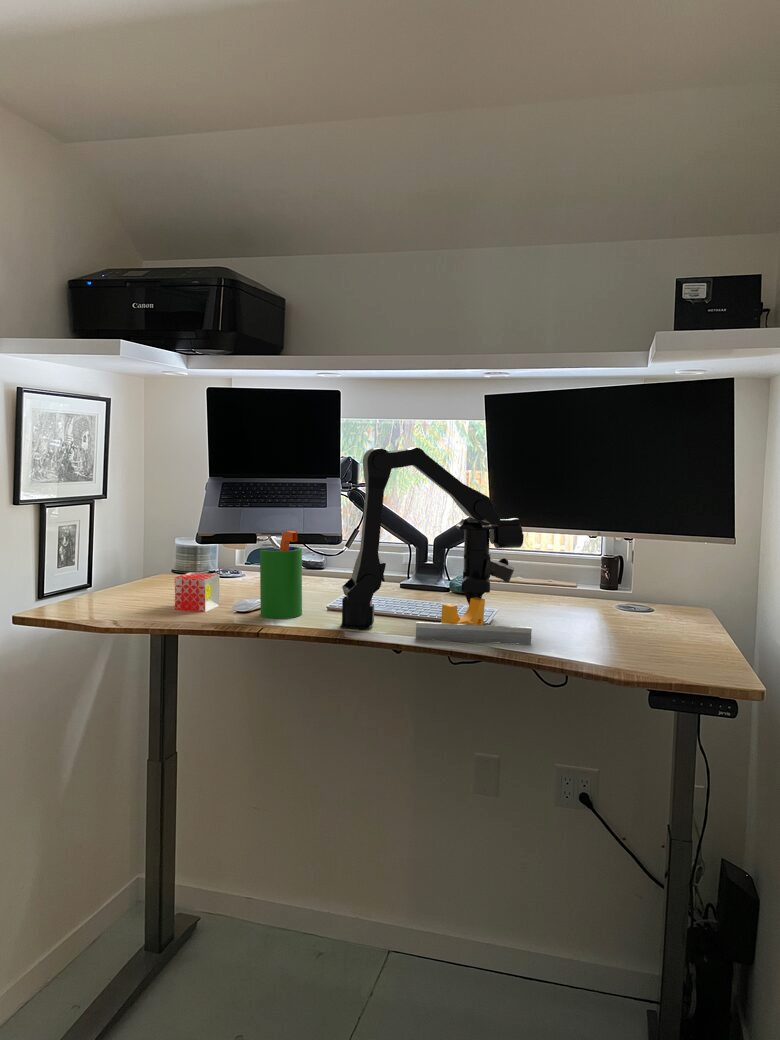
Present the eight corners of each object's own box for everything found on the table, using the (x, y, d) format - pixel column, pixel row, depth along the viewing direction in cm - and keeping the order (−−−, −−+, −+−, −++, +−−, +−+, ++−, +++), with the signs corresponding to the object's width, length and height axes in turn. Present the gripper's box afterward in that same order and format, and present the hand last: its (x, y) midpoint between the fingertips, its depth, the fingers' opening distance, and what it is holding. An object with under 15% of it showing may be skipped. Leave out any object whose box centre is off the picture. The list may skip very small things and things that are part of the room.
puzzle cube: (205, 612, 189) (205, 579, 188) (174, 610, 190) (174, 577, 190) (219, 605, 197) (219, 574, 196) (190, 603, 198) (190, 572, 197)
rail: (415, 638, 167) (416, 622, 167) (416, 636, 169) (416, 620, 169) (530, 644, 165) (531, 628, 164) (530, 642, 167) (531, 626, 166)
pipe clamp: (455, 638, 169) (458, 608, 168) (440, 633, 172) (442, 604, 171) (489, 629, 178) (491, 601, 177) (473, 624, 181) (475, 597, 180)
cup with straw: (276, 608, 194) (277, 527, 192) (309, 612, 191) (310, 529, 189) (255, 616, 185) (255, 531, 183) (289, 620, 182) (290, 533, 180)
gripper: (514, 555, 171) (512, 626, 173) (510, 543, 190) (509, 607, 191) (462, 554, 172) (460, 624, 174) (463, 542, 191) (462, 606, 193)
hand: (475, 615), depth 183 cm, fingers closed
